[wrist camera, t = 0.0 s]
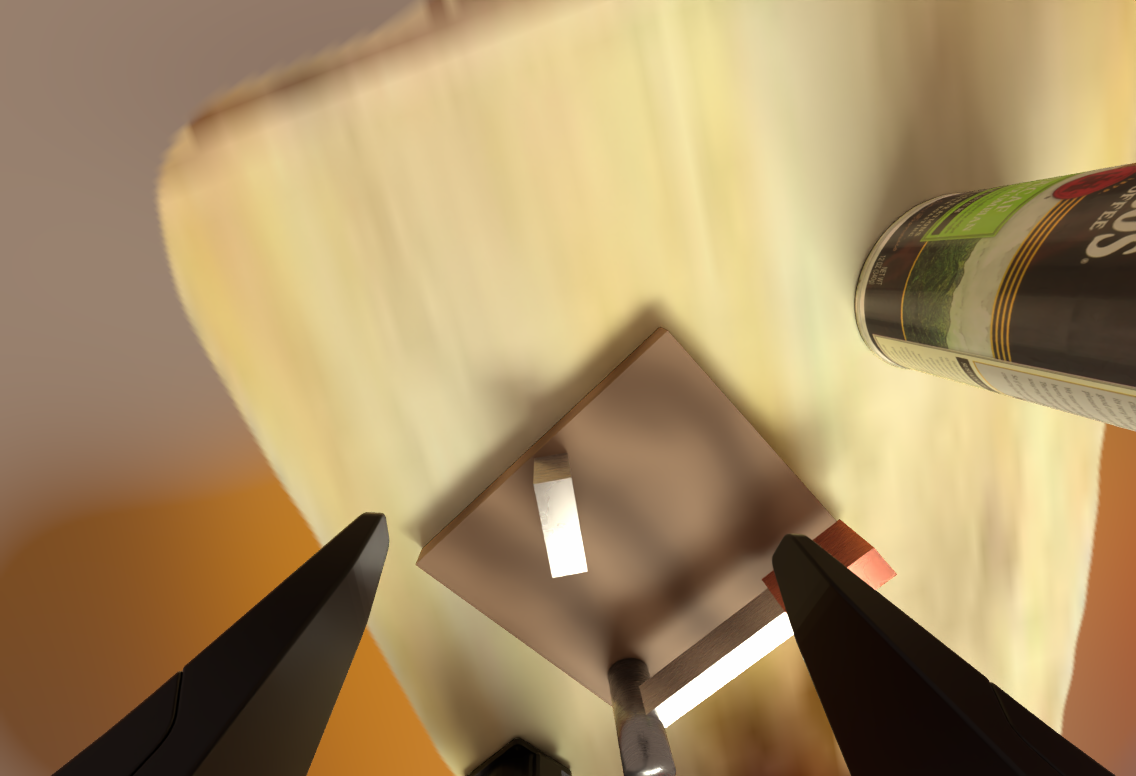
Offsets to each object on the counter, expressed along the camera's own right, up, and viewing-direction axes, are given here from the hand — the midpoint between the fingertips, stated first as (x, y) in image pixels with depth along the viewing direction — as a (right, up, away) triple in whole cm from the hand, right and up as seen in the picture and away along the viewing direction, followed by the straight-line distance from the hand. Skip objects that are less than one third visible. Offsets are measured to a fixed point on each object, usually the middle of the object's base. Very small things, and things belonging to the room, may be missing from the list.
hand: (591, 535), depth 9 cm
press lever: (+10, -12, +19) cm, 24 cm away
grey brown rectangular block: (-1, -4, +16) cm, 16 cm away
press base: (+4, -7, +18) cm, 20 cm away
